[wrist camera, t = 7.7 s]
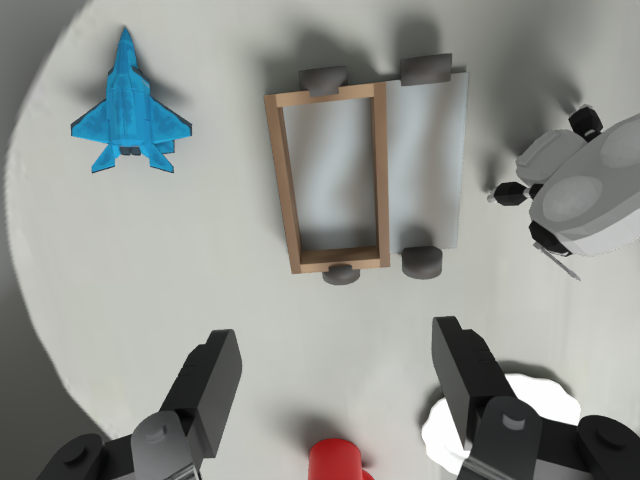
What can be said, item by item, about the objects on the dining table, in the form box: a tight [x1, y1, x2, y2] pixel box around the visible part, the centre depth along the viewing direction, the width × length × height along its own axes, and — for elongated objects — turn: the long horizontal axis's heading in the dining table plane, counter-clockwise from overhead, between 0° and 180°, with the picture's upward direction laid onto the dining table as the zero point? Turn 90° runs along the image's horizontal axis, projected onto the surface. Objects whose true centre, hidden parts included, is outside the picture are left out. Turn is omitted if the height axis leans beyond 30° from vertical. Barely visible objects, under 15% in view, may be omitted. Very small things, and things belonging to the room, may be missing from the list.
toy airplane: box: [71, 27, 192, 173], centre depth 31 cm, size 12×10×4 cm
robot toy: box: [487, 104, 640, 281], centre depth 26 cm, size 12×4×15 cm, turn 142°
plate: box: [421, 374, 581, 475], centre depth 48 cm, size 21×21×2 cm
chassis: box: [264, 53, 469, 285], centre depth 33 cm, size 18×20×4 cm
